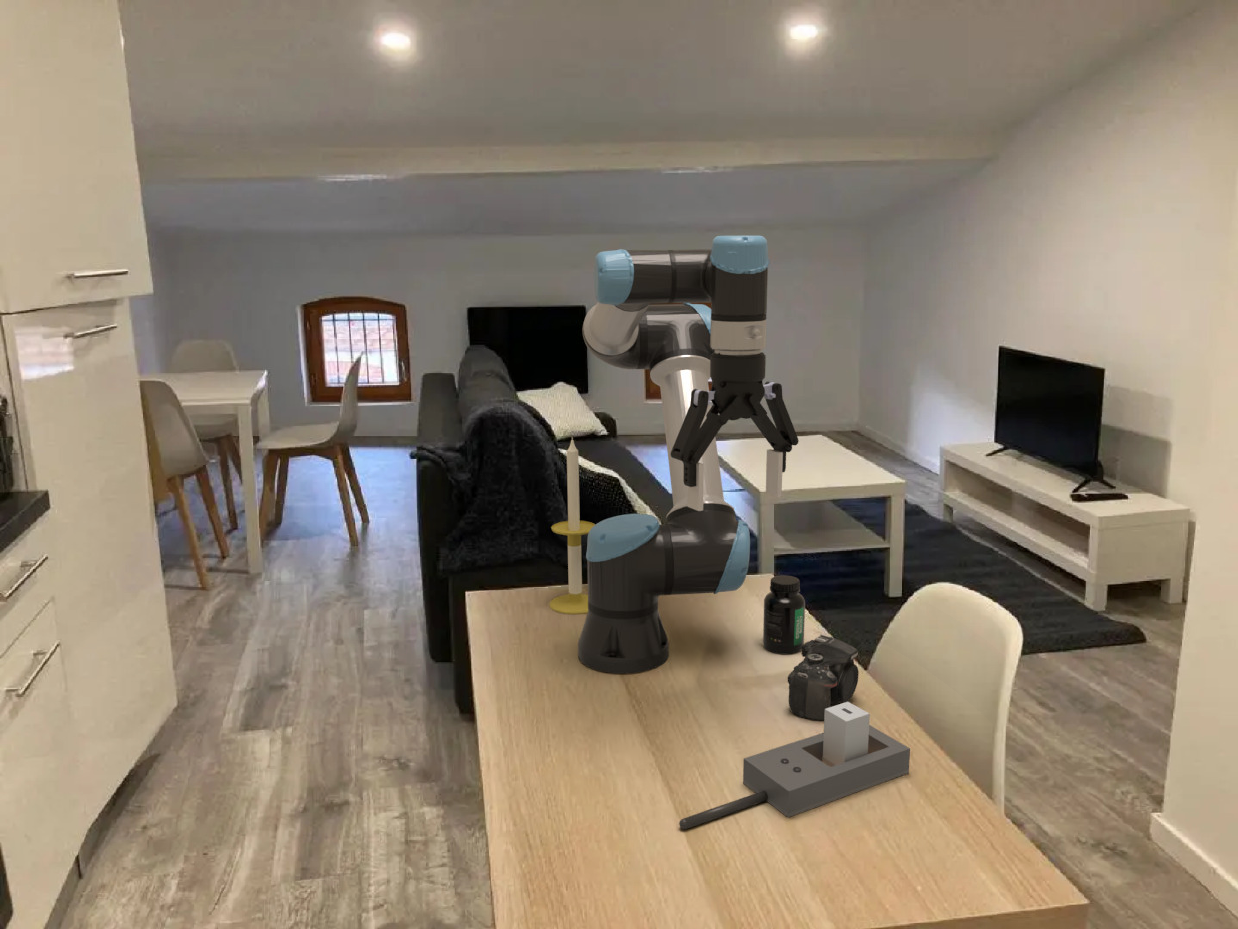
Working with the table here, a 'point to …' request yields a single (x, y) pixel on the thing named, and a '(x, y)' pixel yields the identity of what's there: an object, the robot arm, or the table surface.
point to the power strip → (811, 776)
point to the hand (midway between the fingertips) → (735, 502)
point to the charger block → (845, 734)
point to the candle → (573, 542)
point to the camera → (822, 677)
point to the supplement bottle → (784, 616)
